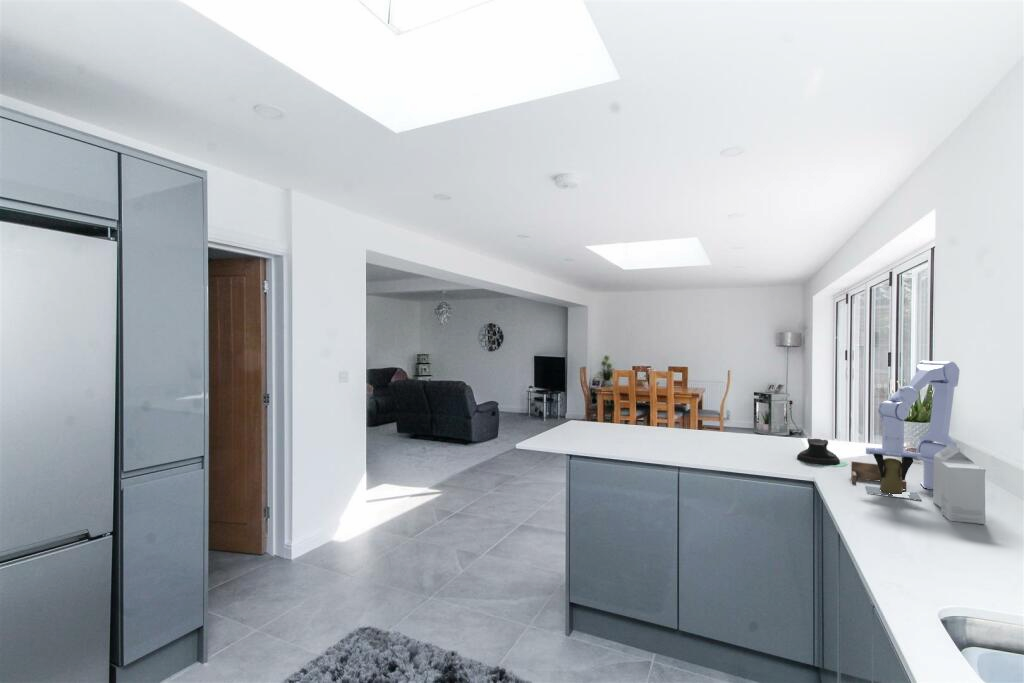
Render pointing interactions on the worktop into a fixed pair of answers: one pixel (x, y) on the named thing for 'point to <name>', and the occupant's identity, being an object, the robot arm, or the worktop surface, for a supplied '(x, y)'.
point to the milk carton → (950, 456)
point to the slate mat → (877, 491)
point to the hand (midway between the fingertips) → (892, 478)
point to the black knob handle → (819, 454)
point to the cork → (891, 476)
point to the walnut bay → (869, 472)
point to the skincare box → (963, 492)
